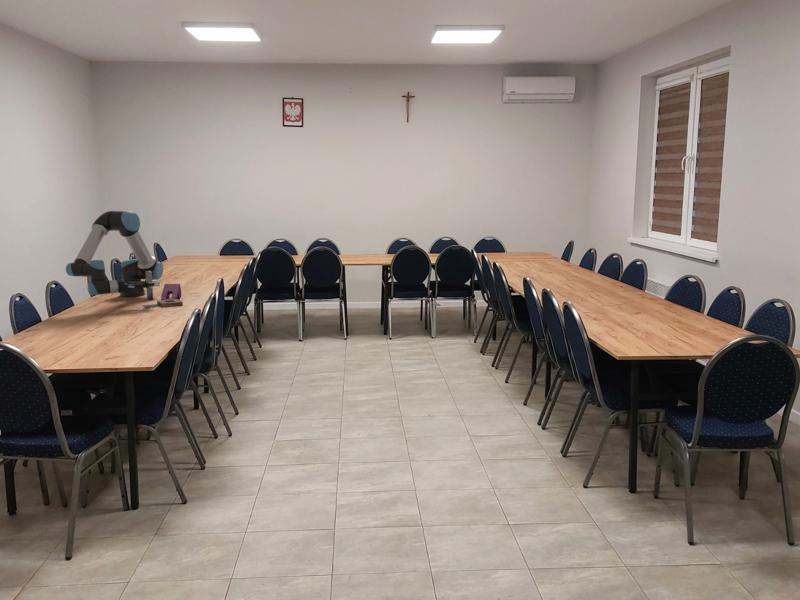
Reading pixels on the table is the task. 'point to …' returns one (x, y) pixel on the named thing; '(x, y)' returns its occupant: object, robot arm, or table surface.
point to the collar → (170, 303)
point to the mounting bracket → (171, 292)
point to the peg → (150, 289)
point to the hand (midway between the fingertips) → (158, 283)
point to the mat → (150, 306)
